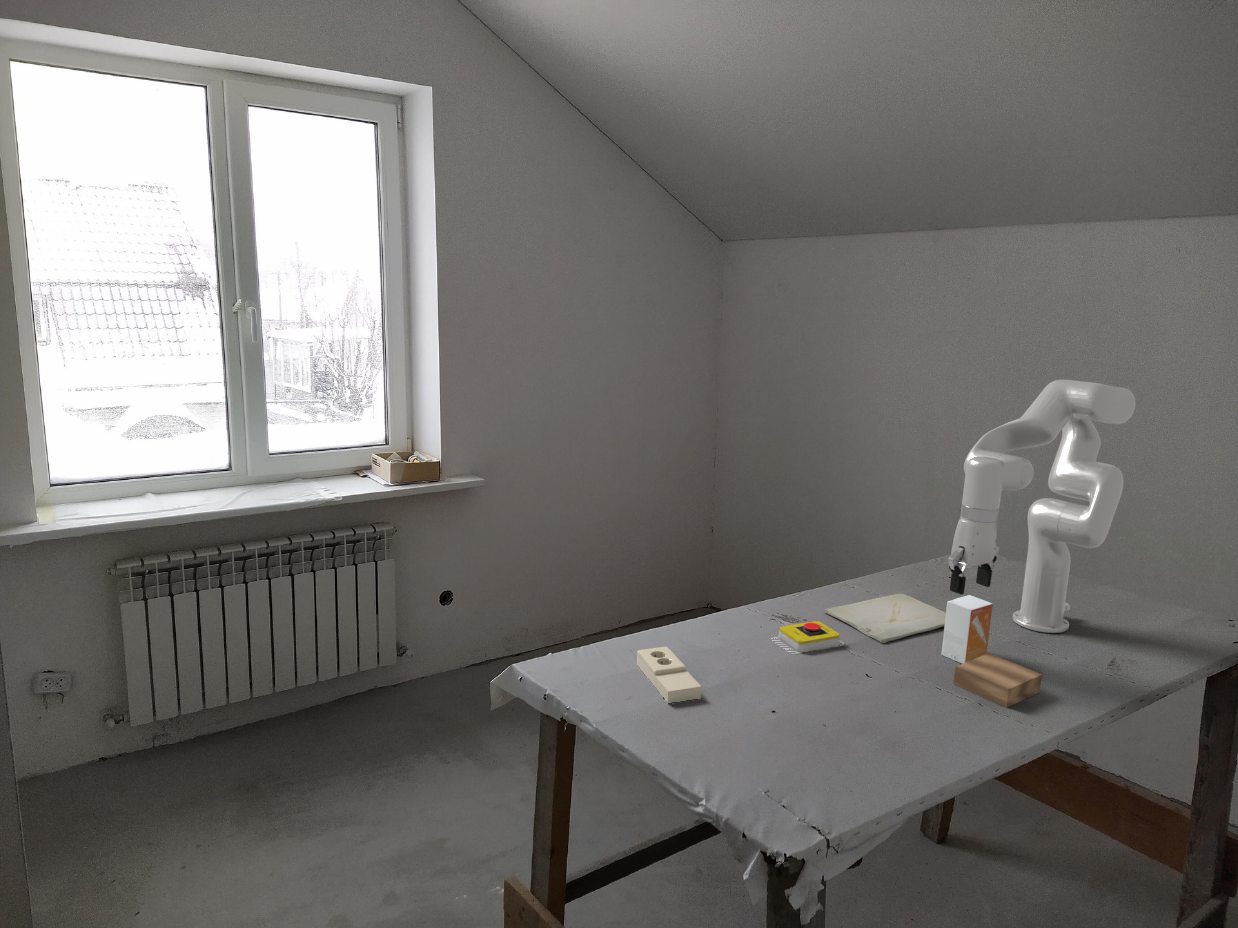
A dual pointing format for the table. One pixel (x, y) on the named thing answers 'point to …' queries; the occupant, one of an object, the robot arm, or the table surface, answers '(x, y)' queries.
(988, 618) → the small box
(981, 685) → the walnut base
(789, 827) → the table surface
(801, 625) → the emergency button
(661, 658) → the electrical outlet
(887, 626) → the decorative slab
